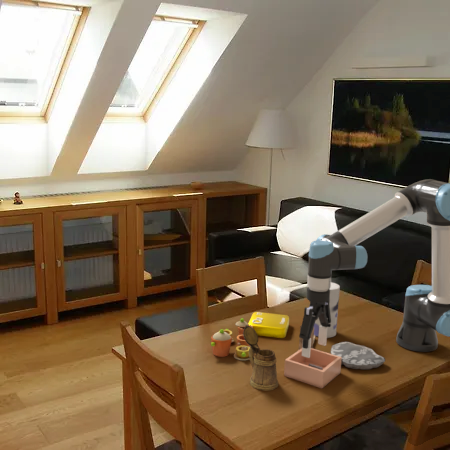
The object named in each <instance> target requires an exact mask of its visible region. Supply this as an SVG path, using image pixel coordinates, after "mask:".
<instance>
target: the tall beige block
mask: <svg viewBox="0 0 450 450" xmlns="http://www.w3.org/2000/svg"><path fill="white" fill-rule="evenodd" d="M301 326H302V324H301V325H300V327H299V331H300V330H301ZM310 338H311V348H313V349H314V343H313V339H314V327H313V330H312V333H311V336H310ZM302 342H303V338H300V337H299V340H298V350H300V349H301V348H302Z"/></svg>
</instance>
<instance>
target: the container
mask: <svg viewBox="0 0 450 450" xmlns="http://www.w3.org/2000/svg"><path fill="white" fill-rule="evenodd" d="M340 287H341V286H340V285H339V284H338V283H335V282H332V281H331V288H330V289H329V290H330V303H329V306H330V315H331V323H329V324H331V326H330V327H328V328H327V339H329V338H334V337H335V336H336V335H337V327H338V316H339V315H338V314H339V313H338V312H339V300H340V289H341V288H340ZM327 319H328V318H327ZM319 326H322V325H321V324H320V320H319V317H318V319H317V320H316V321H315V324H314V335H315V337H319Z"/></svg>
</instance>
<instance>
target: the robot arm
mask: <svg viewBox="0 0 450 450" xmlns="http://www.w3.org/2000/svg"><path fill="white" fill-rule="evenodd" d="M418 213H426V224H428V225H429V227H431V285H429V284H412V285H410V286H408V287H407V288H406V292H405V295H404V296H405V298H404V308H403V317H402V318H403V319H402V323H401V325H400V327H399V329H398V331H397V334H396V338H395V339H396V340H395V341H396V343H397V345H398V346H400V347H401V348H404V349H406V350H409V351H414V352H419V353H420V352H421V353H427V352H434V351H436V350H437V349H438V346H439V340H438V335H437V333H438V334H440V335H442V336H446V337H450V183H449V182H444V181H440V180H437V179H433V178H432V179H431V178H429V179H423V180H419V181H417V182H414V183H412V184H409V185H408V186H406V187H404V188H402V189H401V190H399V191H397V192H395V193H394V197H393V198H391V199H389V200H387V201H385V202H384V203H383V204H381V205H379V206H377V207H376V208H374V209H372V210H370V211H369V212H367V213H366V214H364V215H362V216H361V217H359V218H357V219H356V220H354V221H352V222H350V223H349V224H347V225H345V226H344V227H342V228H340V229H338V230H337V231H335V232H333V233H332V234H328V233H327V234H321V235H319V236H318V237H317V239H315V240H313V241H312V242H311V243H310V245H309V250H308V266H307V268H308V269H307V275H306V279H307V281H306V282H307V285H306V286H307V288H306V299H307V301H309V306H308V307H304V309H303V318H302V323H301V325H302V326H301V325H300V326H301V330H300V329H299V335H298V337H299V339H300V338H303V342H302V356H304V357H307V358H310V351H311V338H310V336H311V333H312V330H313V327H314V324H315V321H316V320H317V319H318V317H319V320H320V324H321V325H322V326H319V337H318V336H317V337H318V340H317V344H318V345H321V346H324V347H325V346H327V339H328V338H327V328H328V327H330V326H331V324H329V323H331V315H330V306H329V303H330V290H329V289H330V288H331V282H332V271H341V270H344V271H345V270H358V269H359V270H360V269H363V268H365V267H366V265H367V263H368V253H367V252H368V251H367V250H366V248H365V247H364V246H362V245H359V244H360V243H362V242H364V241H365V240H367V239H368V238H370V237H372V236H374V235H375V234H377V233H378V232H380V231H382V230H384V229H385V228H387V227H390V226H391V225H392V224H394V223H396V222H398V220H401V219H402V218H404V217H405V216H406V217H411V216H413V215H415V214H418ZM327 318H328V319H327Z"/></svg>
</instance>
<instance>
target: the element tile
mask: <svg viewBox="0 0 450 450" xmlns="http://www.w3.org/2000/svg"><path fill="white" fill-rule="evenodd" d="M247 323H248V324H250V325H252V327H253V329H254V330H255V331H256V333H257V335H258V337H259V336H260V337H270V338H278V339H285V338H286V336H287V332H288V330H289V326H290V325H289V323H290V316H288V315H287V314H280V313H271V312H270V313H269V312H263V311H262V312H260V311H254V312H253V313H252V314H251V317H250V319H249V321H248V322H247Z"/></svg>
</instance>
